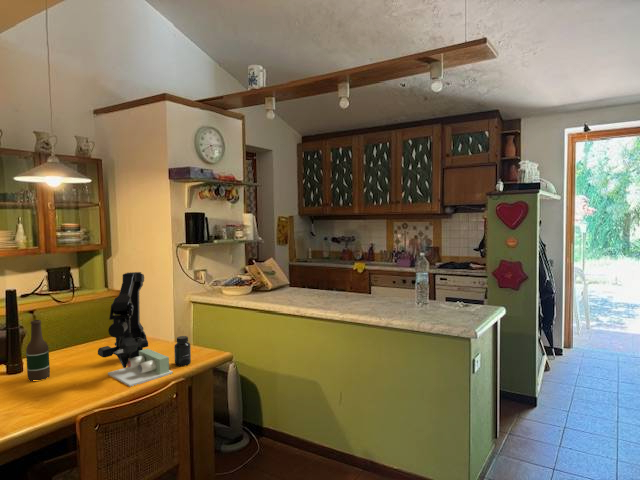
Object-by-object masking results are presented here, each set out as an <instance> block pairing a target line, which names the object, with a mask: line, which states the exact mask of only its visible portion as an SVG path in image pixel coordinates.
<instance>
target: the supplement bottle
mask: <svg viewBox="0 0 640 480" xmlns="http://www.w3.org/2000/svg"><path fill="white" fill-rule="evenodd" d="M173 348H174V365H175V366H176V367H186V366H188V364H189V365H190V364H191V362H192V361H191V356H192V354H191V343H190V342H189V336H188V335H180V336H176V342H175V344H174V347H173ZM185 365H186V366H185Z"/></svg>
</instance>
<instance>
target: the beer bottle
mask: <svg viewBox="0 0 640 480" xmlns="http://www.w3.org/2000/svg"><path fill="white" fill-rule="evenodd" d="M41 323H42V320H40V319H33V320H31V321H30V323H29V324H30V325H31V326H30V327H31V328H30V333H31V334H30V341H29V342H28V344H27V346H26V348H25V356H26V373H27V380H28V379H29V380H30V381H29V380H28V381H29V382H31V381H33V380H41V379H45V380H47V379H48V378H49V377H50V376H51V371H50V369H51V368H50V367H51V366H50V350H49V345H48V343H47V342H46V341H45V340H44V337H43V332H42V324H41ZM47 377H48V378H47ZM46 378H47V379H46ZM41 381H42V380H41ZM33 382H34V381H33Z"/></svg>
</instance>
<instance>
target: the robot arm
mask: <svg viewBox="0 0 640 480" xmlns="http://www.w3.org/2000/svg"><path fill="white" fill-rule="evenodd" d="M144 282H145V275H144V274H143V273H142V272H140V271H135V272H133V271H132V272H125V273H123V274H122V283H121V287H120V291H119V294H118V296H116V297H115V298H114V299H113V302H112V303H111V305H110V313H109V321H112V322H113V323H112V324H111V325H110V326H109V328H108V334H109V335H110V337H112V338H114V339H115V342H114V346H112V347H111V346H109V345H107V346H102V347H98V349H97V355H98V356H100V357H101V358H108V357H112V356H113V355H115V356H116V357H117V358H118V360H119V363H120V364H121V366H122V369H123V368H126V367H128V366H127V363H128V360H129V359H130V358H134V357H138V356H139V351H140V350H144V348H148V347H149V341H148V338H147V334H146V333H145V331H144V327H143V325H142V324H141V322H140V321H141V319H140V315H141V314H140V291H141V289H142V287H143V285H144Z"/></svg>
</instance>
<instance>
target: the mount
mask: <svg viewBox="0 0 640 480" xmlns="http://www.w3.org/2000/svg"><path fill="white" fill-rule="evenodd" d="M142 355H143V356H144V357H146V362H147V361H150V360H155V361H156V363H157V368H156V369H155V370H151V371H148V372H144V373H140V372H139V370H138V366H137V367H134V368H128V366H126V368H123V367H122V368H119V369H116V370H112V371H108V372H107V375H108V376H109V377H112V378H113V379H115V380H116V381H119V382H121V383H122V384H124V385H126V386H128V387H130V388H132V387H134V385H135V386H138V385H141V384H144V383H147V382H150V381H153V380H157V379H159V378H163V377H166V376H169V374H170V375H173V374H172V373H174V371H173V370H170V360H169V359H170V357H169V356H168V355H164V354H162V353H160V352H157V351H154V350H152V349H149V348H145V349H144V348H143V350H140V351H139V356H142ZM137 384H138V385H137ZM131 386H132V387H131Z"/></svg>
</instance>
